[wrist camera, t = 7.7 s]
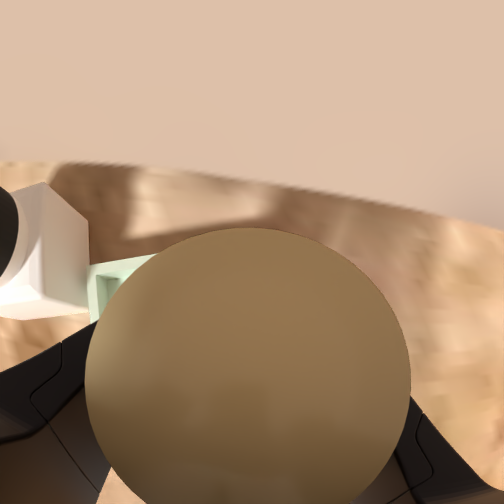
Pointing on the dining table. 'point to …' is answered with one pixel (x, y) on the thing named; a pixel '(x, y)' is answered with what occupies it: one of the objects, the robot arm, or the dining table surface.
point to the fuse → (247, 374)
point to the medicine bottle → (42, 255)
